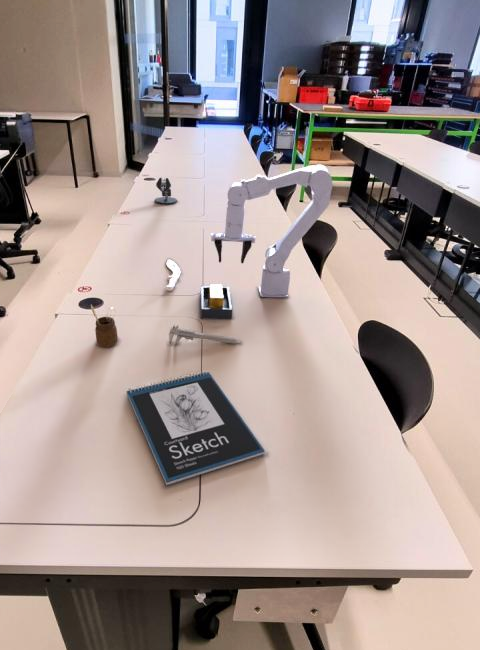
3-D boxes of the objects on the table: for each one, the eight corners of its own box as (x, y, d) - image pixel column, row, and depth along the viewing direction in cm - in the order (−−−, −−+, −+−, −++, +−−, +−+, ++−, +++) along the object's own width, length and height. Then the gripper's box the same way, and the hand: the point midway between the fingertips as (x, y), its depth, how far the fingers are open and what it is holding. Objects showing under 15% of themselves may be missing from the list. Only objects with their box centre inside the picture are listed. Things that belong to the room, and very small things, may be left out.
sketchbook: (166, 486, 84) (166, 479, 83) (125, 394, 106) (125, 387, 105) (264, 454, 91) (265, 447, 90) (207, 374, 114) (207, 367, 113)
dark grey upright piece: (152, 207, 237) (151, 182, 230) (155, 198, 254) (155, 174, 247) (176, 208, 238) (175, 183, 231) (177, 198, 254) (177, 175, 247)
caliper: (169, 345, 125) (168, 326, 122) (169, 343, 126) (168, 324, 122) (240, 343, 127) (241, 325, 123) (239, 341, 128) (241, 323, 124)
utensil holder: (118, 347, 123) (114, 309, 116) (95, 348, 122) (90, 310, 116) (118, 336, 128) (114, 299, 121) (96, 337, 127) (91, 300, 120)
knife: (168, 256, 178) (187, 258, 177) (168, 260, 178) (187, 262, 178) (150, 285, 152) (172, 287, 152) (150, 290, 153) (172, 291, 152)
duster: (221, 296, 150) (222, 283, 147) (223, 312, 140) (224, 298, 138) (208, 296, 149) (208, 283, 147) (209, 312, 140) (209, 298, 138)
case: (228, 295, 152) (228, 286, 151) (231, 318, 139) (232, 309, 137) (200, 294, 152) (200, 286, 150) (201, 318, 138) (201, 309, 137)
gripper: (212, 225, 139) (210, 265, 147) (258, 227, 140) (253, 267, 148) (212, 218, 145) (209, 257, 153) (255, 220, 146) (251, 259, 153)
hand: (231, 261), depth 151 cm, fingers open, 7 cm apart
